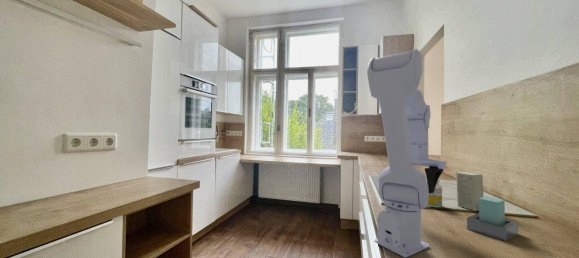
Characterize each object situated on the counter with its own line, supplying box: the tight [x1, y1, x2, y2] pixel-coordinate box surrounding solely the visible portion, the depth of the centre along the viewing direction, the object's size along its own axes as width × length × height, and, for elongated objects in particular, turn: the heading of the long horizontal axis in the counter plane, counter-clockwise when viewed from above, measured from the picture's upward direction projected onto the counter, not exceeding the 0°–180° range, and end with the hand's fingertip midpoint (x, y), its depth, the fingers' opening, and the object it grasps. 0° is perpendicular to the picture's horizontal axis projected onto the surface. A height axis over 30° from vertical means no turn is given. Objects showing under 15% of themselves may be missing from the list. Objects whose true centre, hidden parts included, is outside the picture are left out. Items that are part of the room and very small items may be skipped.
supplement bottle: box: [427, 178, 443, 208], centre depth 81 cm, size 5×5×10 cm
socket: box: [466, 212, 519, 242], centre depth 59 cm, size 8×8×3 cm
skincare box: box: [455, 171, 484, 212], centre depth 78 cm, size 6×4×12 cm
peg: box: [478, 196, 506, 226], centre depth 59 cm, size 4×4×8 cm
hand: (417, 189), depth 66 cm, fingers open, 7 cm apart
